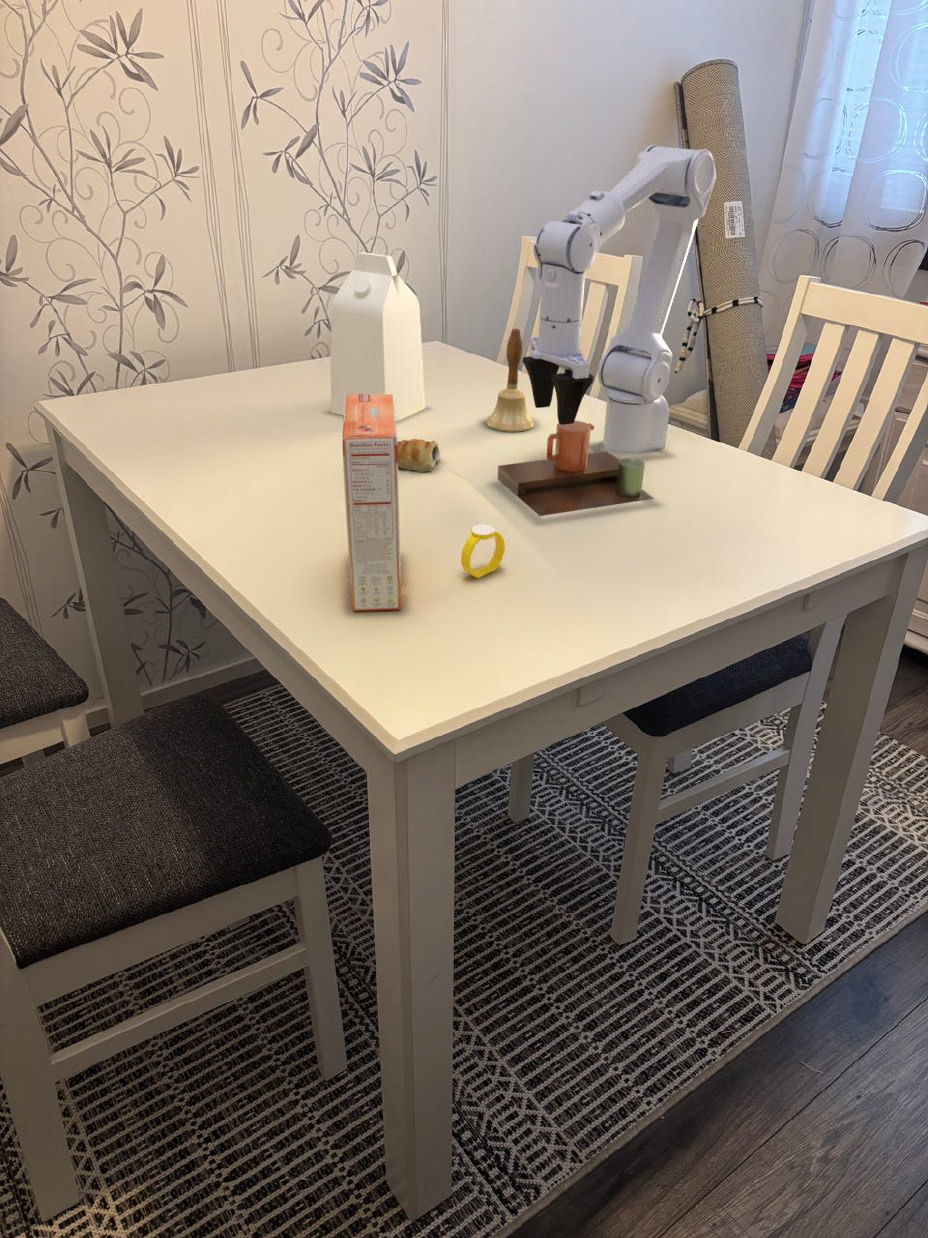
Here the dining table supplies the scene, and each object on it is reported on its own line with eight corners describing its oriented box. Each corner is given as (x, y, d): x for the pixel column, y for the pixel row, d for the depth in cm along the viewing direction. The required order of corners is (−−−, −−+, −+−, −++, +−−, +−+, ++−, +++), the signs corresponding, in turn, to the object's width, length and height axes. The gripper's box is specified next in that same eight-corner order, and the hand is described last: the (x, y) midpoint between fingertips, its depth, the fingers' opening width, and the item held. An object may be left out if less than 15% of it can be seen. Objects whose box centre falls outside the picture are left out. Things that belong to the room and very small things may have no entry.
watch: (492, 562, 120) (494, 518, 117) (508, 570, 119) (510, 525, 116) (456, 576, 117) (457, 531, 114) (471, 585, 115) (473, 539, 112)
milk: (425, 408, 172) (425, 253, 159) (386, 425, 163) (383, 264, 150) (370, 396, 177) (366, 245, 164) (330, 412, 169) (322, 255, 156)
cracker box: (350, 557, 121) (343, 392, 110) (399, 556, 121) (396, 391, 111) (348, 613, 109) (339, 434, 98) (402, 612, 109) (399, 433, 99)
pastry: (371, 467, 147) (371, 443, 145) (384, 452, 153) (383, 429, 151) (432, 473, 145) (432, 449, 143) (442, 458, 151) (442, 434, 149)
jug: (581, 457, 144) (584, 418, 141) (596, 468, 140) (600, 428, 137) (538, 463, 142) (541, 423, 139) (553, 474, 138) (556, 434, 135)
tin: (632, 486, 140) (636, 456, 138) (646, 495, 137) (649, 465, 135) (611, 489, 139) (614, 459, 137) (623, 498, 136) (627, 468, 134)
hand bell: (536, 418, 168) (542, 324, 160) (531, 434, 161) (537, 337, 153) (489, 414, 170) (493, 321, 162) (482, 430, 163) (485, 333, 155)
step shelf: (605, 469, 148) (606, 451, 147) (653, 504, 137) (656, 484, 135) (497, 484, 142) (497, 465, 141) (539, 522, 131) (540, 502, 129)
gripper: (511, 307, 136) (507, 402, 143) (558, 332, 124) (551, 434, 131) (557, 304, 138) (550, 397, 145) (606, 328, 126) (597, 428, 133)
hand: (554, 414), depth 138 cm, fingers open, 7 cm apart
